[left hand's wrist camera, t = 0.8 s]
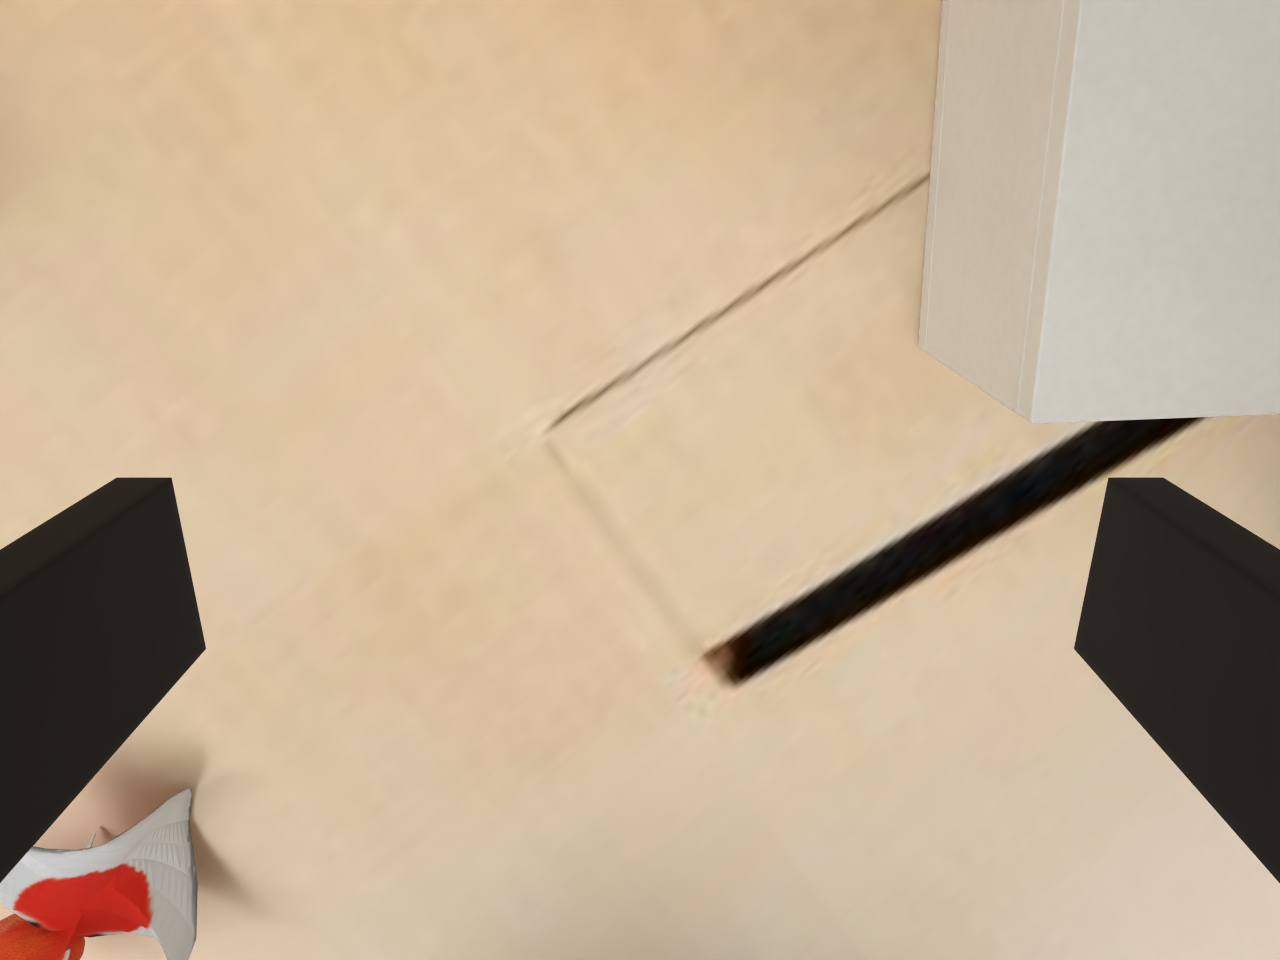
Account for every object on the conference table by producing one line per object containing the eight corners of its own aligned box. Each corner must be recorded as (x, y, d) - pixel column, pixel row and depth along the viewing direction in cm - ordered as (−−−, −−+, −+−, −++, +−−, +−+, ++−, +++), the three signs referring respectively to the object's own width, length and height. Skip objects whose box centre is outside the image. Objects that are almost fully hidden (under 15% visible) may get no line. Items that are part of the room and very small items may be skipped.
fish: (-180, 894, 41) (-230, 1089, 33) (127, 683, 45) (145, 816, 37) (0, 979, 47) (-7, 1159, 40) (255, 788, 51) (292, 920, 44)
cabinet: (950, -118, 31) (1111, -262, 20) (1242, -131, 31) (1558, -284, 20) (917, 347, 37) (1030, 424, 26) (1163, 337, 37) (1377, 410, 26)
